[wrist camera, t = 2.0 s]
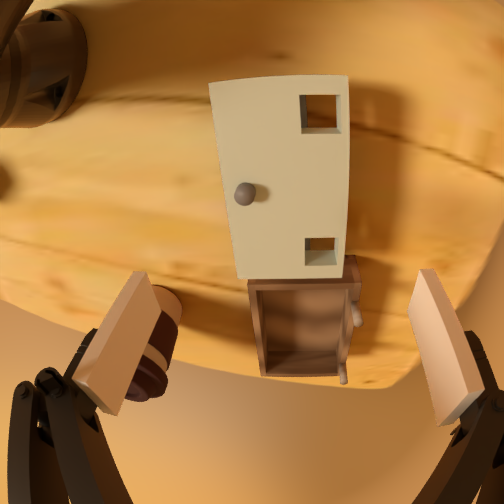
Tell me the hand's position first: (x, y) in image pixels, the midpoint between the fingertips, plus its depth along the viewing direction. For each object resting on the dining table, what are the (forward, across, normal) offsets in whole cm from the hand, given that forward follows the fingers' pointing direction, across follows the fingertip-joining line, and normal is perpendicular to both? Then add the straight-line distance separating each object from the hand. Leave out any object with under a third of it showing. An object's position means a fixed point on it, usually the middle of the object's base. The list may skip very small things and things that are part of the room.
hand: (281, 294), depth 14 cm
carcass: (+18, +2, -20) cm, 27 cm away
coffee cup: (+18, -19, -19) cm, 33 cm away
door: (+14, 0, 0) cm, 14 cm away
